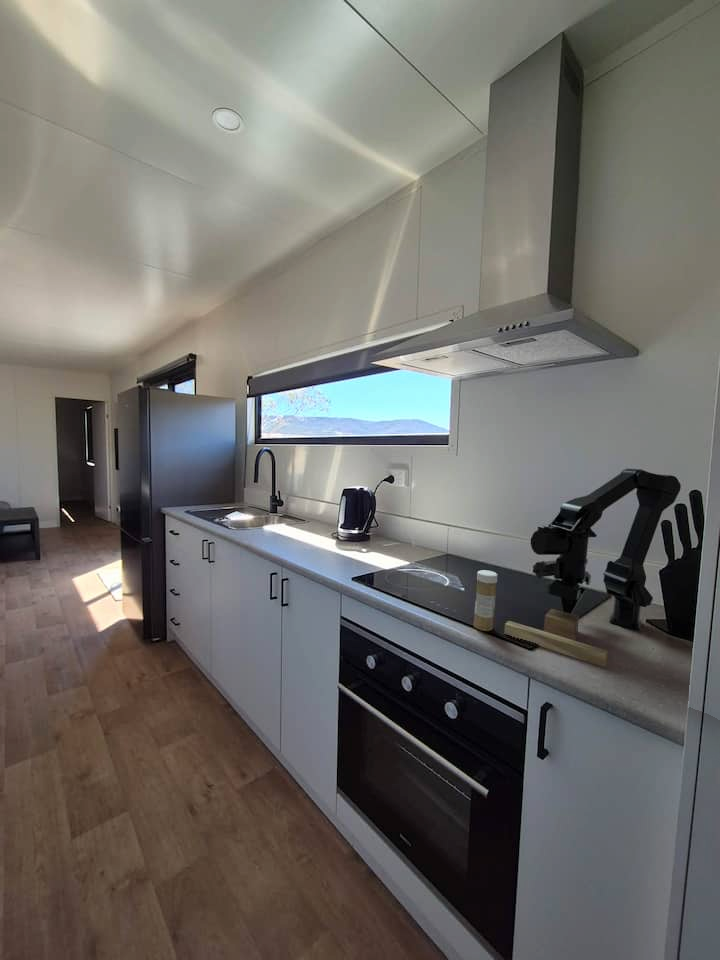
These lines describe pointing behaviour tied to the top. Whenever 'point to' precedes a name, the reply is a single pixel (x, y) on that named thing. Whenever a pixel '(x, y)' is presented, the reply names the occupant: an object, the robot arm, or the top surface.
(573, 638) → the tan wooden block
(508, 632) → the oak board
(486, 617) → the sprinkles bottle
